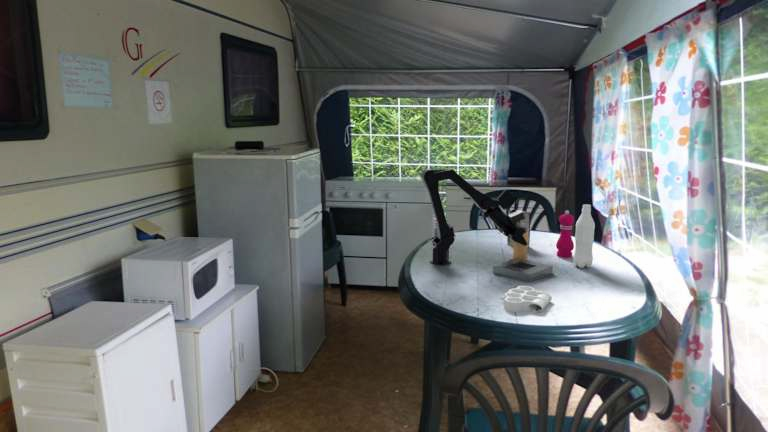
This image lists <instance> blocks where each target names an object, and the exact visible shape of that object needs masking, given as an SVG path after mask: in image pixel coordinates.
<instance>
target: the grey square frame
mask: <svg viewBox="0 0 768 432" xmlns="http://www.w3.org/2000/svg"><path fill="white" fill-rule="evenodd" d="M553 267H554V266H553V265H550V264H545V263H541V262H537V261H533V260H528V259H527V260H525V259H520V258H515V259H513V258H512V259H509V260H506V261H502V262H499V263H496V264H493V265H492V274H495V275H499V276H503V277H508V278H510V279H515V280H518V281H521V282H522V281H523V282H526V283H531V282H533V281H534V282H535V281H537V280H539V279H541V278H544V277H547V276H549V275H551V274H552V275H553Z"/></svg>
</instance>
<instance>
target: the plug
mask: <svg viewBox="0 0 768 432" xmlns="http://www.w3.org/2000/svg"><path fill="white" fill-rule="evenodd" d="M518 226H521V227H522V228H524V229H525V230H526V232H525V233H524V234H523V237H524V238H525V240H526V242H527V245H526V246H525V245H522V244H520V243H517V242H514V246H513V248H512V249H513V252H512V255H513V256H512V259H515V258H520V259H525V260H528V247H527V246H528V232H527V227H525V223H521V224H520V223H519V225H518Z"/></svg>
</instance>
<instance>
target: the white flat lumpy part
mask: <svg viewBox="0 0 768 432" xmlns="http://www.w3.org/2000/svg"><path fill="white" fill-rule="evenodd" d="M552 297H553V296H552V295H550V294H549V293H548V292H547V293H546V292H545V291H538V290H535V288H534V287H532V286H530V285H529V286H528V285H518V286H516V287H514V288H510V289H508V290H507V292H505V293H504V296H501V297H500V298H499V299H500V300H502V301H503V309H504V310H506V311H509V312H515V313H517V312H519V313H520V312H522V311H530V312H535V313H540V312H543V311H544V309H545V308H546V307H547V306H548V304H549V303H550V302H551V301H552ZM538 306H539V307H540V308H538ZM537 308H538V309H537Z"/></svg>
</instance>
